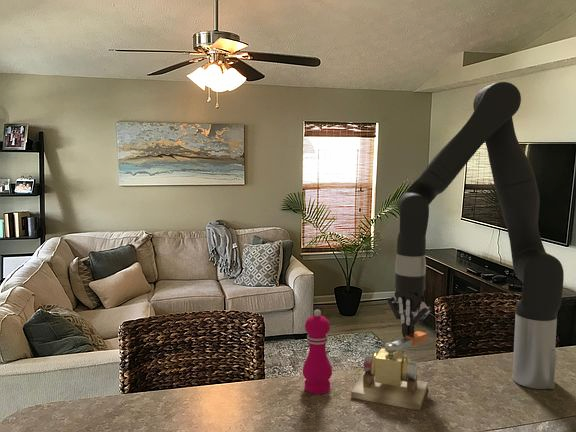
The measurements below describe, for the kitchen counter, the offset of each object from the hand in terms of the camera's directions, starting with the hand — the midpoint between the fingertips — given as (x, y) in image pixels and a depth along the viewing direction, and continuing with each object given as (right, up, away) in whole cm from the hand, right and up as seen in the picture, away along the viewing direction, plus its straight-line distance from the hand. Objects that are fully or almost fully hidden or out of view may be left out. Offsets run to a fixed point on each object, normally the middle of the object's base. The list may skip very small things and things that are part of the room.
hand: (407, 337), depth 128 cm
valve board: (-6, -11, -8) cm, 15 cm away
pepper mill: (-24, -12, -5) cm, 27 cm away
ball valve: (-6, -8, -8) cm, 13 cm away
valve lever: (-2, -1, -5) cm, 6 cm away
